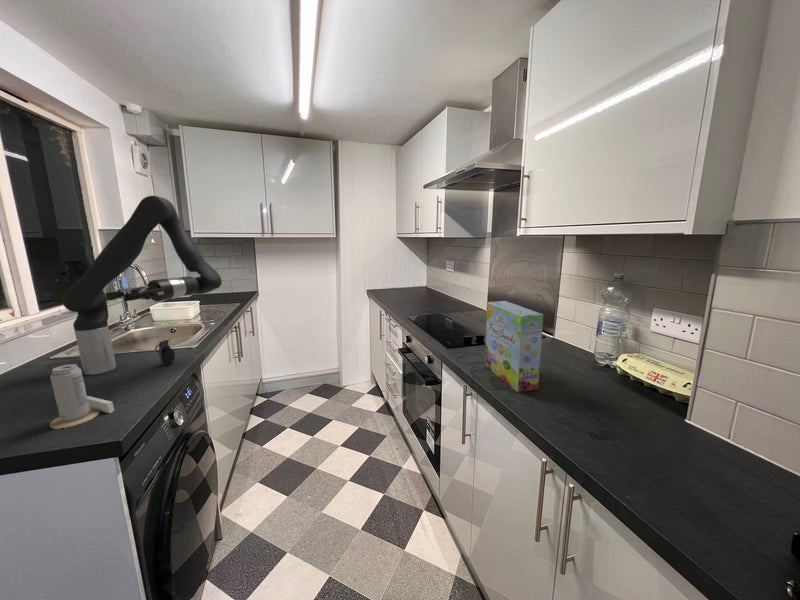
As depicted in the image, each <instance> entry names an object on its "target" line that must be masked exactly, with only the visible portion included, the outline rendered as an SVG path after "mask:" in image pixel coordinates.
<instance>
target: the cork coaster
mask: <svg viewBox="0 0 800 600" xmlns="http://www.w3.org/2000/svg"><path fill="white" fill-rule="evenodd" d="M99 412H101V411H99V409H96V408H90V411H89V412H88V415H87V416H85V417H84V418H81V419H79V420H76V421H71V422H64V420H61V419H60V416H58V417H56V418H54V420H52V421H51V422H50V423H49V428H51V429H52V428H53V429H52V430H62V429H61V428H64V429H67V428H68V427H69V428H72V427H76V425H77V426H80V425H82V423H83V424H84V423H85V424H86V423H87V422H90V421H91V420H93V419H95V418H96V417H98V416H99V414H100V413H99ZM94 417H95V418H94ZM89 420H90V421H89ZM79 424H80V425H79Z"/></svg>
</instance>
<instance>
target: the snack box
mask: <svg viewBox="0 0 800 600" xmlns="http://www.w3.org/2000/svg"><path fill="white" fill-rule="evenodd" d="M485 324H486V328H485V329H486V330H485V357H484V358H485V359H484V361H485V364H484V366H485V368H486V369H487V370H489V371H490V372H492V373H493V374H494V375H495V376H496V377H498V378H499V379H500V380H502V381H503V382H504V383H505V384H506V385H508V386H509V387H510V388H511V389H513V390H514V391H515V392H517V393H524V392H530V391H536V390H537V391H538V390H539V383H540V381H539V380H540V370H541V369H540V368H541V367H540V366H541V353H542V339H543V328H544V327H543V325H544V314H543V313H540V312H537V311H535V310H532V309H530V308H526V307H524V306H521V305H519V304H515V303H513V302H509V301H507V300H500V301H489V302H488V301H487V302H486V323H485Z"/></svg>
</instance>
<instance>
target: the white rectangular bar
mask: <svg viewBox="0 0 800 600" xmlns="http://www.w3.org/2000/svg"><path fill="white" fill-rule="evenodd" d="M87 398H88V403H89V408H96V409H99V411H100V412H104V413H107V414H112V413H113V411H114V412H115V408H114V404H113V403H114V402H113V401H111V400H105V399H103V398H98V397H94V396H91V395H87Z"/></svg>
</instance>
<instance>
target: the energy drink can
mask: <svg viewBox="0 0 800 600" xmlns="http://www.w3.org/2000/svg"><path fill="white" fill-rule="evenodd" d="M51 371H52V372H51V374H50V377H49V378H50V381H51V386H52V390H53V394H54V398H55V403H56V407H57V411H58V415H59V416H58V417H60V419H61V420H64V422H71V421H76V420H79V419H81V418H84V417H85V416H87V415H88V412H89V411H90V408H89V403H88V398H87V396H88V395H87V391H86V385H85V381H84V376H83V371H82V369H81V367H79V366H78V364H76V363H69V364H63V365H60V366H57V367H54V368H52V369H51Z"/></svg>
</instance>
